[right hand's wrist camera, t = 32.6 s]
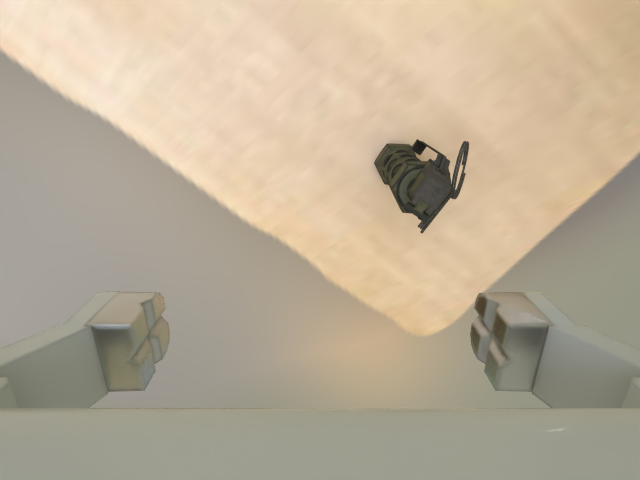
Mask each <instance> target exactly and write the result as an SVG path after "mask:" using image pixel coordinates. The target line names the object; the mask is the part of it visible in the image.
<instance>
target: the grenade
mask: <svg viewBox="0 0 640 480" xmlns="http://www.w3.org/2000/svg"><path fill="white" fill-rule="evenodd" d="M426 146H427V147H429V148H430V149H432V150H433V151H435V152H436V153H438V155H437V158H436V160H435V161H433V160H431V159H429V160H428V162H426V161H421V160H419V159H418V158H417V157H416V155H415V153H417V154H418V155H421V154H422V152H423V151H424V149H425V148H426ZM463 146H464V147H463ZM466 148H467V150H466ZM462 149H463V150H462ZM468 149H469V142H468V141H467V142H466V141H464V142H463V144H462V146H461V148H460V151H459V154H458V158H457V161H456V165H455V169H454V174H453V179H452V185H451V179H450V172H449V169H448V167H449V163H450V161H449V160H448V159H446V156H444V155H443V154H441V153H440V152H438V151H436V150H435V149H433V148H432V147H430V146H429V145H427V144H426V143H424V142H422V141H419V140H418V139H417V140H416V142H415V143H414V145H413V146H412V147H411V146H410V145H406V144H386V146H385V147H384V148H383V150H382V151H381V153H380V154H379V156H378V157H377V159H376V160H375V162H374V164H375V166H376V168H377V170H378V172H379V174H380V176H381V178H382V180H383V182H384V184H387V185H389V186H390V189H391V191H392V193H393V195H394V197H395V199H396V201H397V203H398V205H399V207H400V209H401V211H402V212H403V213H412V214H414V215H416V216H417V217H418V219H420V220H422V221H421V223H420V224H419V225H418V227H420V229H422V230H421V233H423V232H424V231H425V229H426V228H427V227H428V226H429V224H430V223H431V222H432V220H433V219H434V218H435V217H436V215H437V214H438V213H439V212H440V210H441V209H442V208H443V207H444V205H445V204H446V203H447V201H448V200H449V199H450V198H452V199H456V198H457V197H458V195H459V193H460V190H461V187H462V184H463V181H464V177H465V174H466V173H464V169H465V165H466V161H467V156H468ZM461 151H462V152H461ZM414 152H415V153H414ZM463 153H464V156H463ZM460 154H461V156H460ZM465 155H466V156H465ZM462 156H463V161H462V165H464V166H463V170H462V174H461V177H460V181H459V184H458V187H457V189H456V190H455V187H456V180H457V175H458V171H459V167H460V163H461V159H462ZM459 158H460V159H459ZM464 160H465V161H464ZM458 161H459V163H458ZM457 165H458V167H457ZM456 169H457V171H456ZM463 173H464V174H463ZM455 174H456V176H455ZM462 177H463V178H462ZM454 179H455V181H454ZM461 180H462V181H461ZM453 185H454V187H453ZM459 186H460V187H459ZM458 189H459V190H458ZM455 191H456V192H455ZM422 224H423V225H422ZM421 225H422V226H421Z"/></svg>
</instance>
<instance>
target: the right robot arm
mask: <svg viewBox="0 0 640 480" xmlns="http://www.w3.org/2000/svg"><path fill="white" fill-rule="evenodd" d="M475 309H476V311H477V313H478V314H479V316H478V317H477V318H476V319H475V320H474V321H473V322H472V326H471V333H470V335H471V345H472V348H473V352H474V354H475V355H476V357H477V359H478V360H480V361H481V362H483V363H485V364H486V365H485V370H484V371H485V373H486V375H487V377H488V378H489V380H490V382H491V384H492V385H493V387H494V389H495V390H496V391H528V392H532V394H534V395H535V396H536V397H537V398H539V399H540V400H541V401H543V402H544V403H545V404H547V405H548V406H549V407H551V408H89V407H91V406H92V405H93V404H95V403H96V402H97V401H99V400H100V399H101V398H103V397H104V396H105V395H107V394H108V392H113V391H144V390H145V389H146V387H147V385H148V384H149V382H150V380H151V378H152V377H153V375H154V373H155V371H156V370H155V365H154V364H155V363H157V362H159V361H160V360H162V359H163V357H164V355H165V354H166V352H167V348H168V344H169V325H168V322H167V321H166V320H165V319H164V318H163V317H162V316H161V314H162V313H163V311H164V310H165V303H164V298H163V296H162V295H161V294H160V293H155V292H154V293H153V292H119V291H118V292H98V293H97V294H96V295H95V296H93V297H92V298H91V299H90V300H89V301H88V302H87V303H86V304H85V305H84V306H83V307H82V308H81V309H80V310H79V311H77V312H76V313H75V314H74V315H73V316H72V317H71V318H70V319H69V320H68V321H67V322H66V323H65V324H63V325H62V326H54V327H52V328H49V329H47V330H44V331H42V332H40V333H37V334H35V335H32V336H30V337H28V338H25V339H23V340H20V341H18V342H15V343H13V344H10V345H8V346H6V347H3V348H1V349H0V480H640V349H639V348H637V347H634V346H632V345H629V344H627V343H625V342H622V341H620V340H617V339H615V338H612V337H610V336H608V335H605V334H603V333H600V332H598V331H596V330H593V329H591V328H588V327H586V326H578V325H577V324H575V323H574V322H573V321H572V320H571V319H570V318H569V317H568V316H567V315H566V314H565V313H564V312H563V311H562V310H560V309H559V308H558V307H557V306H556V305H555V304H554V303H553V302H552V301H551V300H550V299H549V298H548V297H547V296H546V295H545V294H543V293H541V292H538V291H535V292H495V293H479V294H478V296H477V298H476V302H475Z"/></svg>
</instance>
